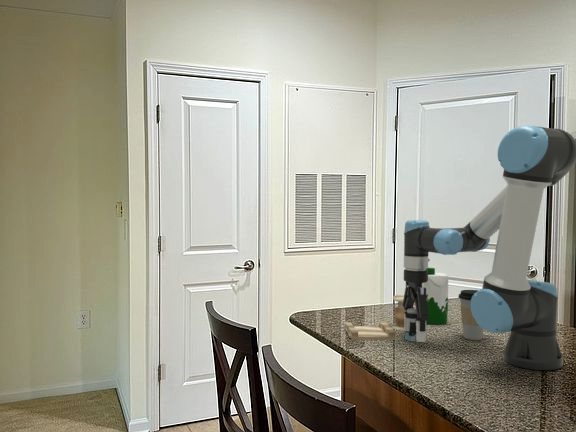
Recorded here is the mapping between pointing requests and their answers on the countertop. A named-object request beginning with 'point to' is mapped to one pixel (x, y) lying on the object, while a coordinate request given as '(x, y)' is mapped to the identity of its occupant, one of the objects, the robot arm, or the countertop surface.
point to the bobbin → (399, 314)
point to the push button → (411, 324)
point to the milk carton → (436, 297)
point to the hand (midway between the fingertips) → (414, 335)
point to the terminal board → (370, 332)
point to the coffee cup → (469, 317)
